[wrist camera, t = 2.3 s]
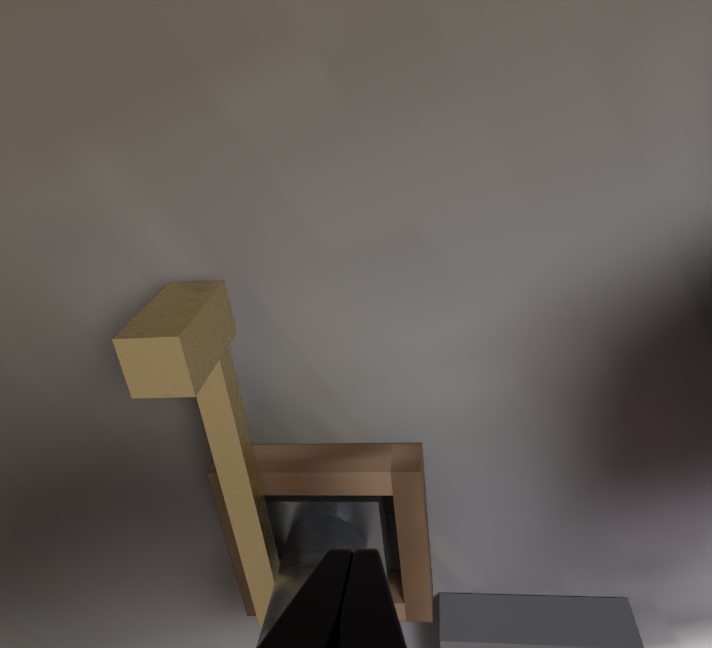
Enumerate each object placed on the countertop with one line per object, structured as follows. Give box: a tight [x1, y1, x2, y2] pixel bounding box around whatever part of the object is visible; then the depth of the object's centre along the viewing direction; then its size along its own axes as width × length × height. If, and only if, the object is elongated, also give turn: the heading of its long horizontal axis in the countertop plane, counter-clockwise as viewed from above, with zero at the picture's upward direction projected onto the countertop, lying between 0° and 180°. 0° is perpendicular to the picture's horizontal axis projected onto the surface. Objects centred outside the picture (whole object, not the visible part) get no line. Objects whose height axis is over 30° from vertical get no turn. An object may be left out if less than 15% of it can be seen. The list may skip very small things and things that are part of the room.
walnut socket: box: [207, 443, 433, 622], centre depth 26 cm, size 9×9×2 cm
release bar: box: [112, 280, 280, 629], centre depth 22 cm, size 2×16×4 cm, turn 6°
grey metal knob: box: [256, 495, 390, 648], centre depth 23 cm, size 5×5×8 cm
